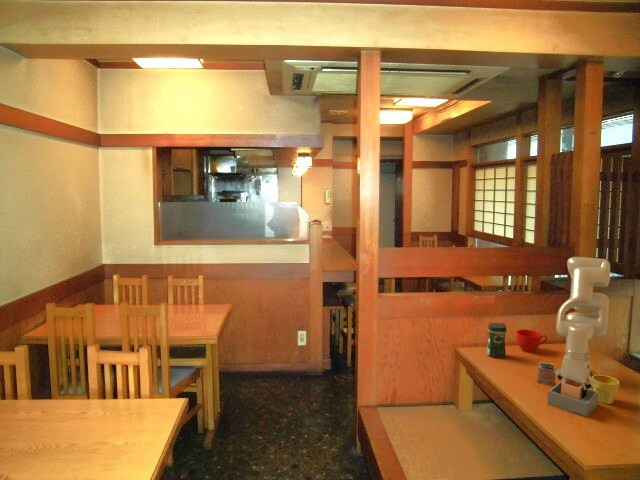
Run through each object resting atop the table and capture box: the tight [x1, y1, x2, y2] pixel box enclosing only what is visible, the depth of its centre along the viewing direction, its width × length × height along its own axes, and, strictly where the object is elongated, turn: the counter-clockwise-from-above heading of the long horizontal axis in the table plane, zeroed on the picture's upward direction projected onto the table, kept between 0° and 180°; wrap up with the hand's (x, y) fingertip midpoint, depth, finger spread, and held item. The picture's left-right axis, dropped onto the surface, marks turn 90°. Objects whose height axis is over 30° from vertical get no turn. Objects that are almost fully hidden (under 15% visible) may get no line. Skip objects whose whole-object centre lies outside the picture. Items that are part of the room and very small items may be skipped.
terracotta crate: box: [561, 379, 583, 400], centre depth 188 cm, size 9×7×6 cm
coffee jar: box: [486, 322, 507, 358], centre depth 243 cm, size 10×8×19 cm
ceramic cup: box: [515, 329, 548, 353], centre depth 251 cm, size 13×17×10 cm
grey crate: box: [546, 381, 599, 418], centre depth 189 cm, size 15×15×6 cm
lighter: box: [535, 361, 557, 386], centre depth 210 cm, size 8×3×10 cm, turn 71°
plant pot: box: [591, 374, 621, 405], centre depth 193 cm, size 10×10×10 cm
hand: (573, 393), depth 189 cm, fingers closed on terracotta crate, 7 cm apart
